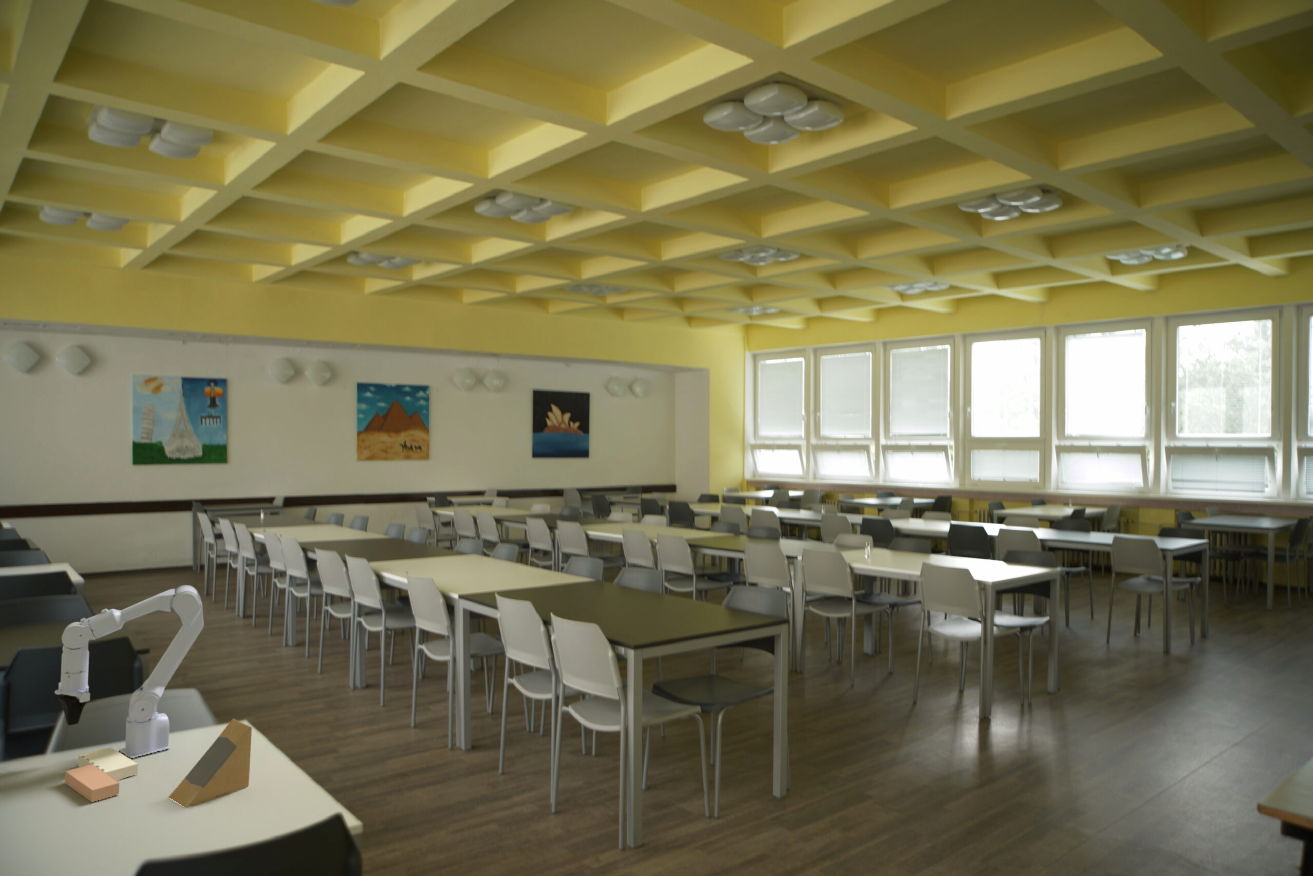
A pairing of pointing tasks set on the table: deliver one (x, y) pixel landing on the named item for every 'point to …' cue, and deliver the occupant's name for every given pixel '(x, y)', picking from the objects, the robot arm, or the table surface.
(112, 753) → the board
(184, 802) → the sandwich container
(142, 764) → the table surface
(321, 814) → the table surface
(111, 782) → the block
